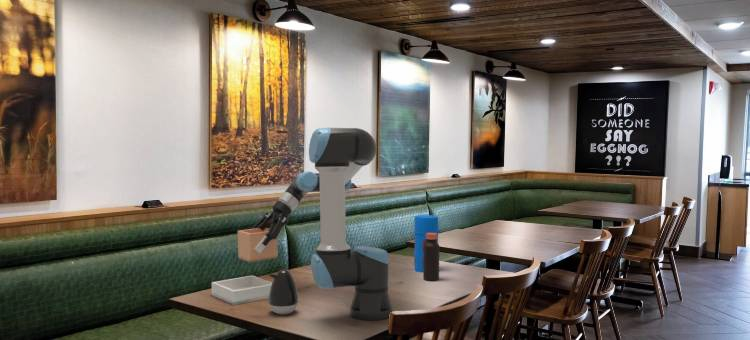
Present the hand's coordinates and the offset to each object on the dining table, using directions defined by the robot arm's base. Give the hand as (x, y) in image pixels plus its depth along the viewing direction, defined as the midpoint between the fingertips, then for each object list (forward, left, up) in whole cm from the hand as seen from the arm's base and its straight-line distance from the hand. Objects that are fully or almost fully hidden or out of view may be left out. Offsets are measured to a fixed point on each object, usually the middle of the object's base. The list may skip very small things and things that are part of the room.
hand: (250, 249), depth 233 cm
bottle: (+30, -71, -18) cm, 79 cm away
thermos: (+48, -69, -18) cm, 86 cm away
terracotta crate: (+2, -2, -4) cm, 5 cm away
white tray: (-3, +2, -18) cm, 18 cm away
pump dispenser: (-23, -18, -18) cm, 35 cm away
